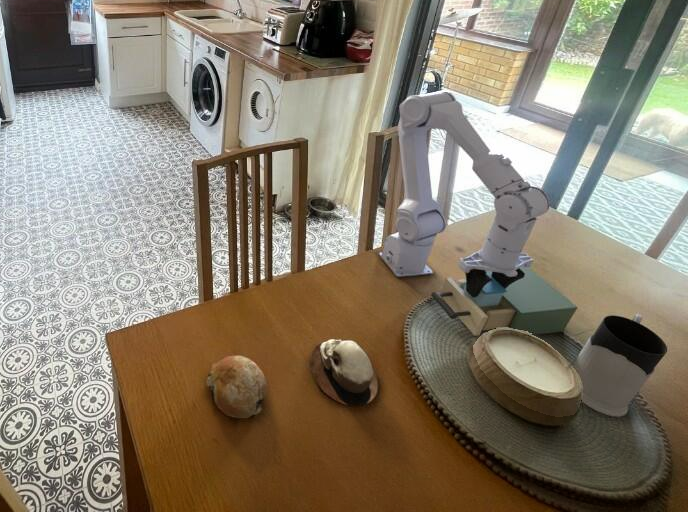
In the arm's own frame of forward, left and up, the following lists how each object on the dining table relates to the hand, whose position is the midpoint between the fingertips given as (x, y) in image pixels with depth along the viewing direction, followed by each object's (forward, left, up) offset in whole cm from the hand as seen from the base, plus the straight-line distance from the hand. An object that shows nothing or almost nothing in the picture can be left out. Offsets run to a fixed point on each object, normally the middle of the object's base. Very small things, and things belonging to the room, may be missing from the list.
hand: (481, 292), depth 86 cm
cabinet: (+10, 0, -7) cm, 12 cm away
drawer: (-1, 0, -6) cm, 6 cm away
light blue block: (0, 0, -1) cm, 1 cm away
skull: (-34, -9, -7) cm, 36 cm away
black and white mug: (+12, -16, -7) cm, 21 cm away
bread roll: (-55, -10, -7) cm, 57 cm away
